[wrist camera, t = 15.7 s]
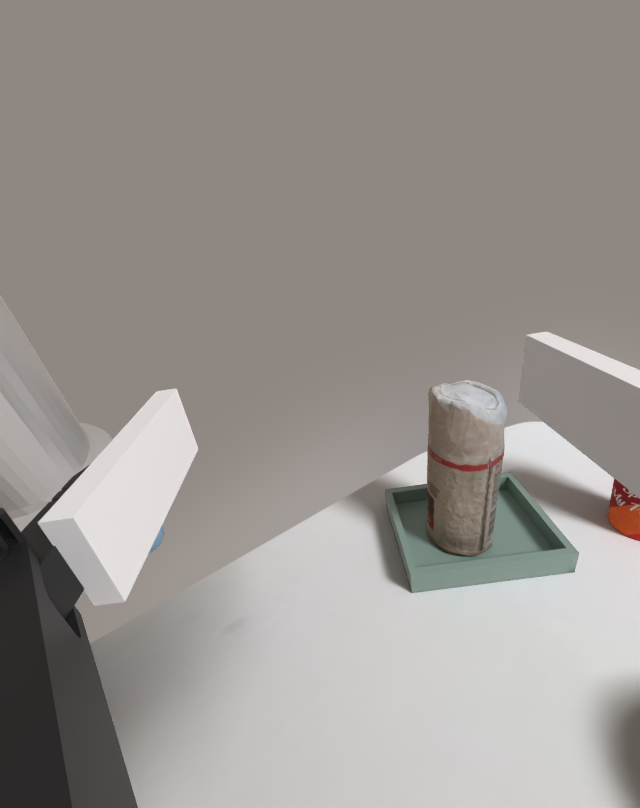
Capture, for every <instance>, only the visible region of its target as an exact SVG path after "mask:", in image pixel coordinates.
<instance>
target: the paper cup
mask: <svg viewBox="0 0 640 808" xmlns="http://www.w3.org/2000/svg"><path fill="white" fill-rule="evenodd" d="M608 519H609V522H610V523H611V525H612V526H613V527H614V528H615V529H616V530H618V531H619V532H620V533H622V534H624V535H626V536H628V537H630V538H632V539H635V540H638V541H640V498H639V497H637V496H636V495H635V494H634V493H632V492H631V491H630V490H629V489H627V488H626V487H625V486H624V485H622V484H621V483H620V482H619V481H617V480H616V479H615V478H614V483H613V489H612V494H611V500H610V506H609V513H608Z"/></svg>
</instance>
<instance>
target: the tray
mask: <svg viewBox="0 0 640 808" xmlns="http://www.w3.org/2000/svg"><path fill="white" fill-rule="evenodd" d="M385 495H386V506H387V509H388V513H389V516H390V520H391V523H392V527H393V530H394V533H395V537H396V540H397V544H398V547H399V551H400V554H401V558H402V561H403V564H404V568H405V571H406V575H407V578H408V582H409V585H410V589H411V592H412V593H415V592H423V591H431V590H439V589H446V588H454V587H462V586H470V585H478V584H485V583H493V582H501V581H509V580H517V579H524V578H532V577H540V576H548V575H555V574H563V573H571V572H574V571H575V567H576V564H577V560H578V556H579V552H578V551H577V550H576V549H575V548H574V546H573V545H572V544H571V543H570V542H569V541H568V539H567V538H566V537H565V536H564V535H563V533H562V532H561V531H560V530H559V529H558V528H557V526H556V525H555V524H554V523H553V522H552V520H551V519H550V518H549V517H548V516H547V515H546V513H545V512H544V511H543V510H542V509H541V507H540V506H539V505H538V504H537V503H536V502H535V500H534V499H533V498H532V497H531V496H530V494H529V493H528V492H527V491H526V490H525V488H524V487H523V486H522V485H521V484H520V483H519V481H518V480H517V479H516V478H515V477H514V475H513V474H512V473H511V472H509V473H502V474H501V476H500V484H499V491H498V500H497V507H496V516H495V522H494V533H493V542H492V546H491V548H490V549H489V550H487V551H486V552H484V553H483V554H481V555H479V556H466V555H465V556H464V555H460V554H454V553H450V552H447V551H445V550H443V549H442V548H440V547H438V546H437V545H436V544H434V543H433V542H432V540H431V539H430V538H429V536H428V531H427V528H426V522H427V484H423V485H415V486H408V487H401V488H394V489H387V490H385Z"/></svg>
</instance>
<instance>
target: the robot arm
mask: <svg viewBox="0 0 640 808" xmlns="http://www.w3.org/2000/svg"><path fill="white" fill-rule="evenodd" d="M518 402H519V403H521V404H522V405H523V406H524V407H526V408H527V409H528V410H529V411H531V412H532V413H533V414H534V415H536V416H537V417H538V418H539V419H541V420H542V421H543V422H544V423H546V424H547V425H548V426H549V427H551V428H552V429H553V430H555V431H556V432H557V433H558V434H560V435H561V436H562V437H563V438H565V439H566V440H567V441H568V442H570V443H571V444H572V445H573V446H575V447H576V448H577V449H578V450H580V451H581V452H582V453H583V454H585V455H586V456H587V457H588V458H590V459H591V460H592V461H593V462H595V463H596V464H597V465H598V466H600V467H601V468H602V469H603V470H605V471H606V472H607V473H608V474H610V475H611V476H612V477H613V478H615V479H616V480H617V481H619V482H620V483H621V484H622V485H624V486H625V487H626V488H627V489H629V490H630V491H631V492H632V493H634V494H635V495H636V496H637V497H639V498H640V370H638V369H636V368H633V367H631V366H628V365H626V364H623V363H621V362H619V361H616V360H614V359H612V358H609V357H607V356H604V355H602V354H600V353H597V352H595V351H592V350H590V349H587V348H585V347H583V346H580V345H578V344H575V343H573V342H571V341H568V340H566V339H564V338H561V337H558V336H556V335H554V334H551V333H549V332H542V333H535V334H529V335H526V340H525V348H524V357H523V365H522V373H521V382H520V391H519V398H518ZM197 451H198V447H197V444H196V441H195V439H194V436H193V433H192V431H191V427H190V425H189V422H188V419H187V417H186V414H185V411H184V408H183V406H182V403H181V400H180V397H179V394H178V392H177V389H170V390H164V391H157V392H156V393H155V394H154V395H153V396H152V397H151V398H150V399H149V400H148V402H147V403H146V404H145V405H144V406H143V407H142V408H141V409H140V410H139V411H138V413H137V414H136V415H135V416H134V417H133V418H132V420H131V421H129V423H128V424H127V425H126V426H125V427H124V428H123V429H122V430H121V431H120V432H119V434H118V435H117V436H116V437H115V438H114V439H112V438H111V437H110V436H109V435H108V434H107V433H106V432H105V431H103V430H102V429H100V428H98V427H95V426H92V425H89V424H84V423H79V422H78V420H77V418H76V417H75V415H74V414H73V412H72V411H71V409H70V407H69V405H68V404H67V402H66V401H65V399H64V397H63V396H62V394H61V392H60V391H59V389H58V388H57V386H56V384H55V383H54V381H53V380H52V378H51V376H50V375H49V373H48V371H47V370H46V368H45V366H44V365H43V363H42V362H41V360H40V358H39V357H38V355H37V353H36V352H35V350H34V349H33V347H32V345H31V344H30V342H29V340H28V339H27V337H26V336H25V334H24V332H23V331H22V329H21V328H20V326H19V324H18V323H17V321H16V319H15V318H14V316H13V314H12V313H11V311H10V310H9V308H8V306H7V305H6V303H5V301H4V300H3V298H2V297H1V295H0V808H138V807H137V803H136V800H135V796H134V793H133V790H132V786H131V783H130V779H129V776H128V773H127V769H126V766H125V763H124V759H123V756H122V752H121V749H120V746H119V742H118V739H117V735H116V732H115V729H114V725H113V722H112V718H111V715H110V712H109V708H108V705H107V702H106V698H105V695H104V691H103V688H102V685H101V681H100V678H99V674H98V671H97V668H96V664H95V661H94V657H93V654H92V651H91V647H90V644H89V641H88V637H87V634H86V630H85V627H84V624H83V620H82V617H81V614H80V613H79V611H78V610H77V609H76V607H75V606H74V605H75V603H76V602H77V600H78V598H79V597H80V595H81V594H82V592H83V590H84V591H85V593H86V594H87V596H88V597H89V599H90V600H91V602H92V603H93V605H94V606H99V605H106V604H113V603H121V602H125V601H126V599H127V597H128V595H129V593H130V591H131V589H132V587H133V585H134V582H135V580H136V578H137V576H138V574H139V572H140V570H141V568H142V566H143V563H144V562H145V559H146V557H147V555H148V554H149V553H151V552H152V551H154V550H155V549H156V548H157V547H158V546H159V545H160V544H161V542H162V539H163V536H164V529H163V522H164V520H165V518H166V516H167V513H168V511H169V509H170V507H171V505H172V503H173V501H174V499H175V497H176V494H177V493H178V490H179V488H180V486H181V484H182V482H183V480H184V478H185V476H186V474H187V472H188V470H189V467H190V465H191V463H192V461H193V459H194V457H195V455H196V453H197Z"/></svg>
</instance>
